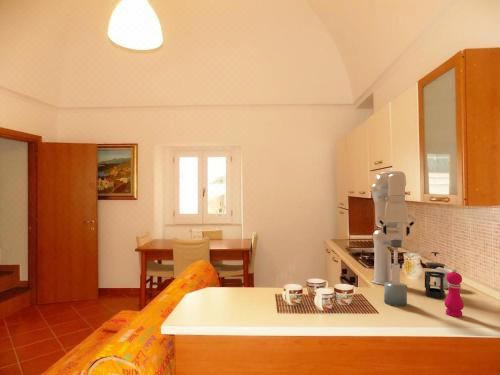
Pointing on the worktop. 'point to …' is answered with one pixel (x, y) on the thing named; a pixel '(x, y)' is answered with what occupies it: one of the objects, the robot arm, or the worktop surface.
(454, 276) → the pepper mill
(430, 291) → the french press
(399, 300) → the syrup pump bottle
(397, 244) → the pump head
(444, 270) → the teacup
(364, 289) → the worktop surface
